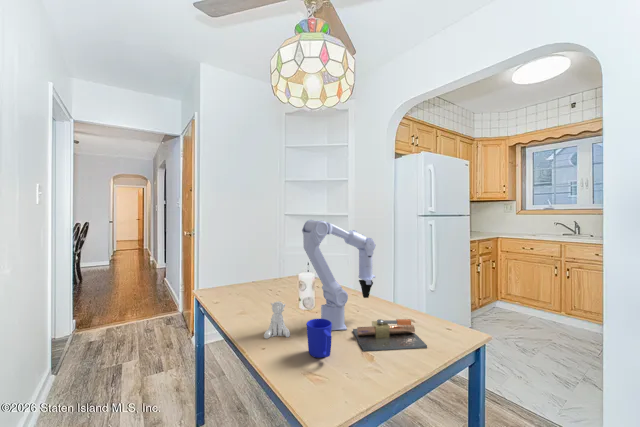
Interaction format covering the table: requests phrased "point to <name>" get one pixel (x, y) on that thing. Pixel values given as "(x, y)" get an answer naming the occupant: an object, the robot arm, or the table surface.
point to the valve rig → (388, 337)
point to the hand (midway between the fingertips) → (365, 297)
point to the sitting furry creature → (277, 322)
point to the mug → (319, 337)
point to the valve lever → (395, 322)
